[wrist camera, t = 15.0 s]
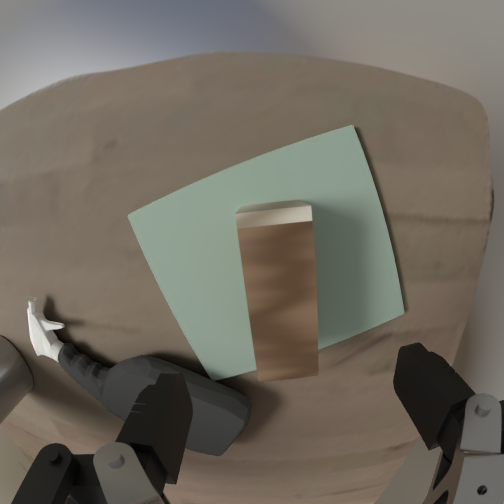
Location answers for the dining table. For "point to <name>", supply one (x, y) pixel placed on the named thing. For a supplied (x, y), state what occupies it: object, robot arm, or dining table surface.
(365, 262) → the rubber mat
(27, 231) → the dining table surface
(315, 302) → the walnut block
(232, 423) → the spray bottle
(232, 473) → the dining table surface
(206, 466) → the dining table surface
